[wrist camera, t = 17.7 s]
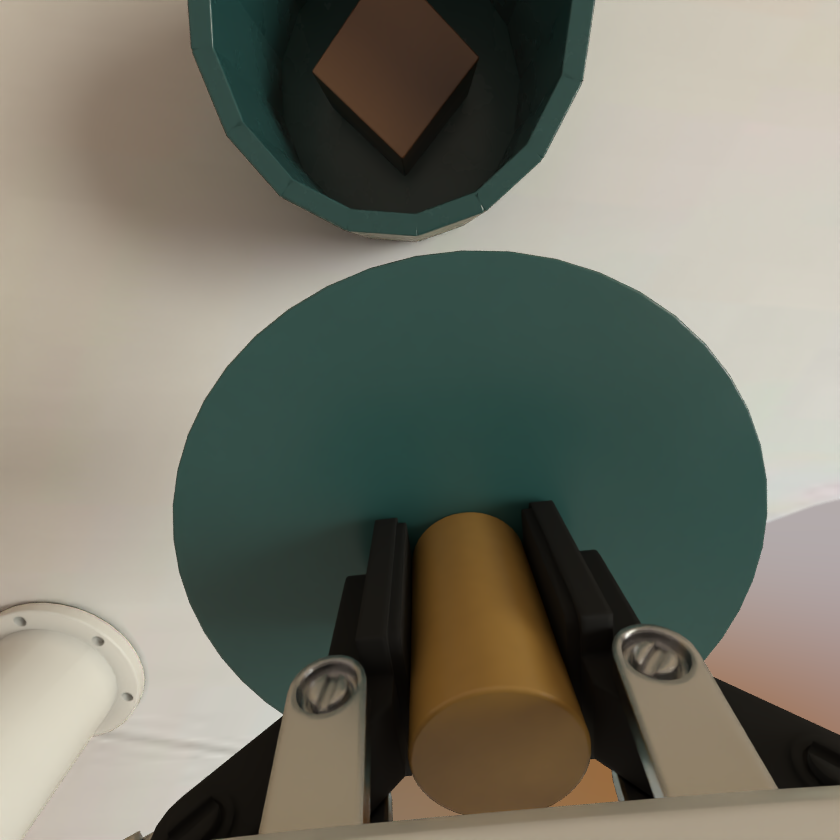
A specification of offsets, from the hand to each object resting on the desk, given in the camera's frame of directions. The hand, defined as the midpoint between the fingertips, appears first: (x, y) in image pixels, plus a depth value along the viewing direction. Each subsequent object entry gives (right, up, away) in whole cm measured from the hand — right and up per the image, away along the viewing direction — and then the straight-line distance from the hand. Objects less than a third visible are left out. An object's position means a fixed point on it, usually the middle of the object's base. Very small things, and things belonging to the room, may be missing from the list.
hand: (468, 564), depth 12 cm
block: (-2, +20, +13) cm, 24 cm away
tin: (-2, +20, +13) cm, 24 cm away
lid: (0, 0, +1) cm, 1 cm away
